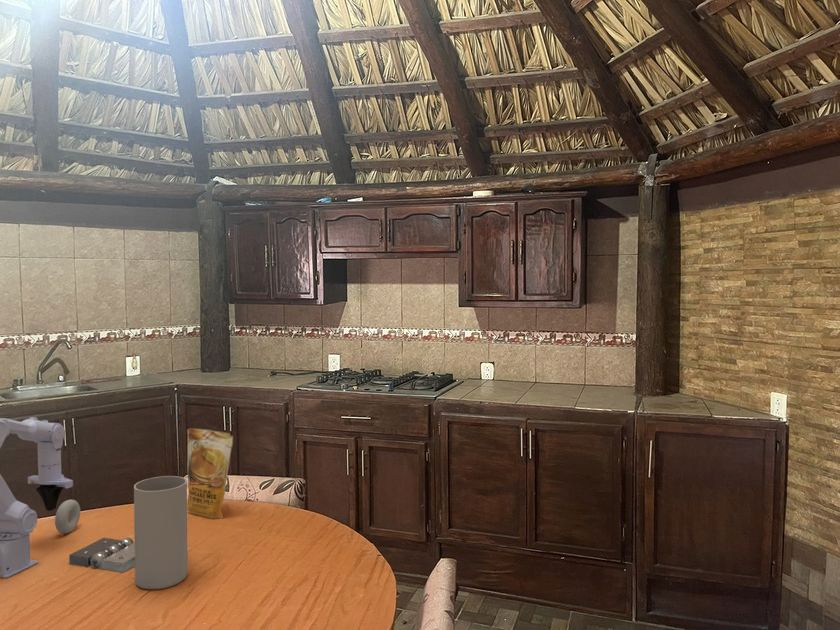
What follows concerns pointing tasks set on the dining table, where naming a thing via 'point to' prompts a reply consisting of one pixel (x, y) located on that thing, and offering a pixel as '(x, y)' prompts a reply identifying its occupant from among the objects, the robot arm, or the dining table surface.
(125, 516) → the dining table surface
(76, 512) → the donut
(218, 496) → the pancake mix bag
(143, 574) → the cylinder vase
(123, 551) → the steel leaf
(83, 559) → the gunmetal leaf
